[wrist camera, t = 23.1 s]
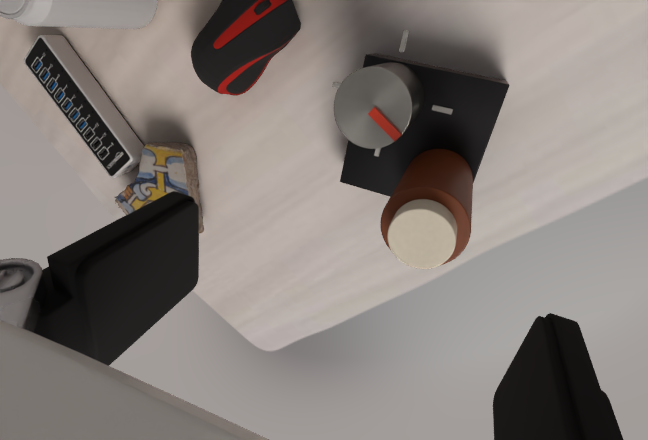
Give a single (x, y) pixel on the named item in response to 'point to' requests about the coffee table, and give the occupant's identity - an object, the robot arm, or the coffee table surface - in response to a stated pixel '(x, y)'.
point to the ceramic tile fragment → (162, 177)
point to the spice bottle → (430, 210)
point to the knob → (378, 104)
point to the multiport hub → (84, 104)
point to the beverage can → (80, 13)
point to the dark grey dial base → (430, 124)
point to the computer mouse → (242, 42)
